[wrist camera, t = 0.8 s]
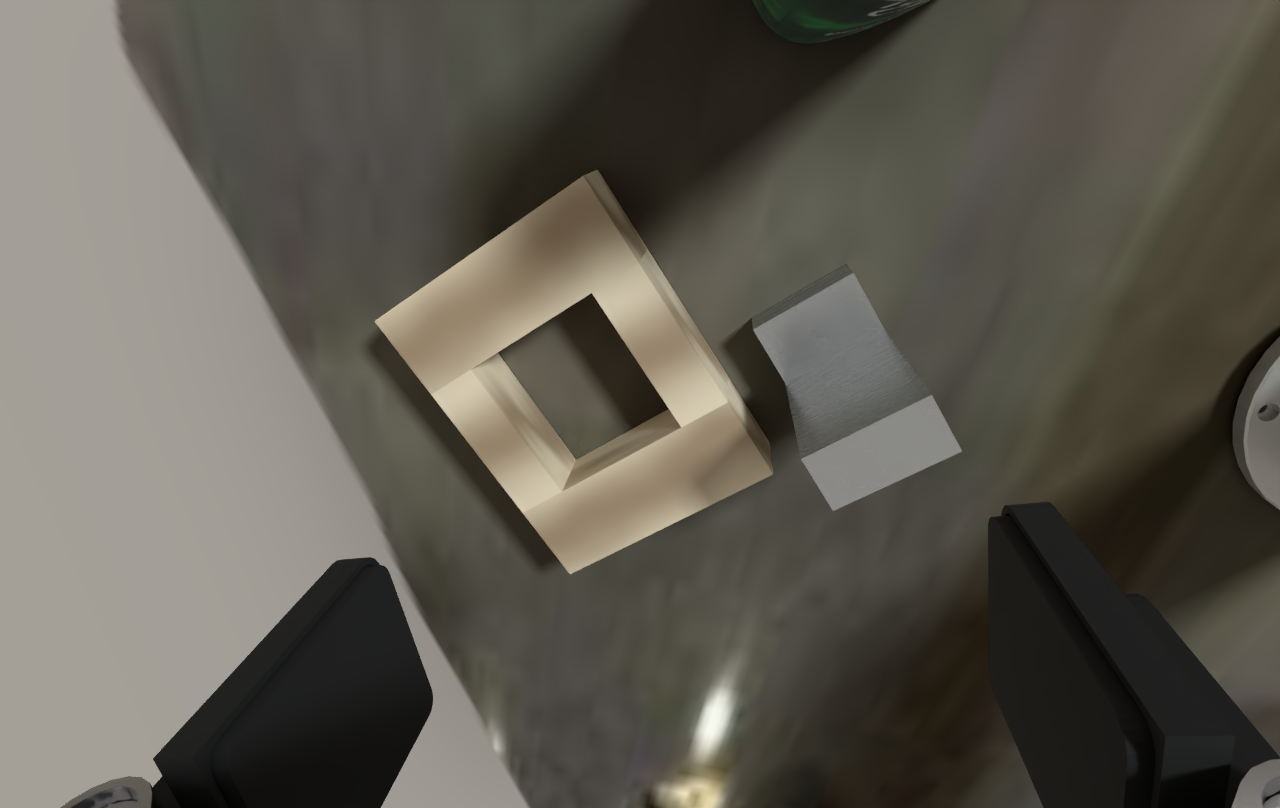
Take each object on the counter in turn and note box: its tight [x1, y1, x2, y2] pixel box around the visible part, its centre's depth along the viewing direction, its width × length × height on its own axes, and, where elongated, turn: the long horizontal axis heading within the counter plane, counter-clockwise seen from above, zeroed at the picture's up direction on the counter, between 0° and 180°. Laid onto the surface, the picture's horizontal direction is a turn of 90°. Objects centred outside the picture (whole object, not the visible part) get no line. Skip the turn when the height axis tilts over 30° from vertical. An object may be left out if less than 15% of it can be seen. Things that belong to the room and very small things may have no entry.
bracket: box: [752, 264, 962, 511], centre depth 30 cm, size 6×5×10 cm
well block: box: [375, 170, 773, 574], centre depth 35 cm, size 16×12×4 cm
